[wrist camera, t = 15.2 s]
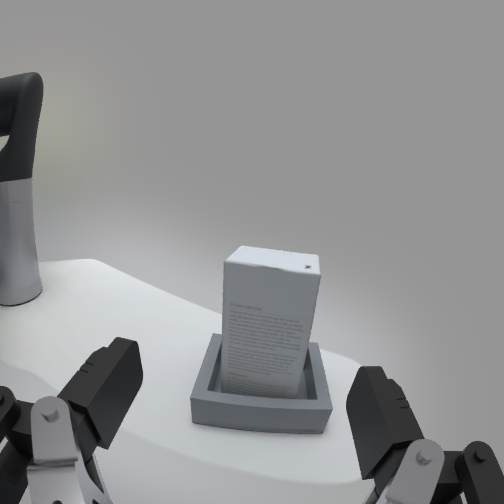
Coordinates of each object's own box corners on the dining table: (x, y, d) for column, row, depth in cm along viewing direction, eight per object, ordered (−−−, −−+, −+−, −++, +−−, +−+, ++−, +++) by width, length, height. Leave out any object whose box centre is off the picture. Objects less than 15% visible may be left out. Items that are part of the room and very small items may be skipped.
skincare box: (297, 380, 23) (321, 254, 20) (292, 413, 19) (323, 274, 16) (232, 369, 24) (240, 243, 21) (218, 399, 20) (222, 259, 17)
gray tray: (192, 422, 18) (190, 397, 17) (212, 357, 26) (212, 333, 26) (322, 433, 18) (332, 409, 17) (311, 366, 26) (317, 342, 25)
